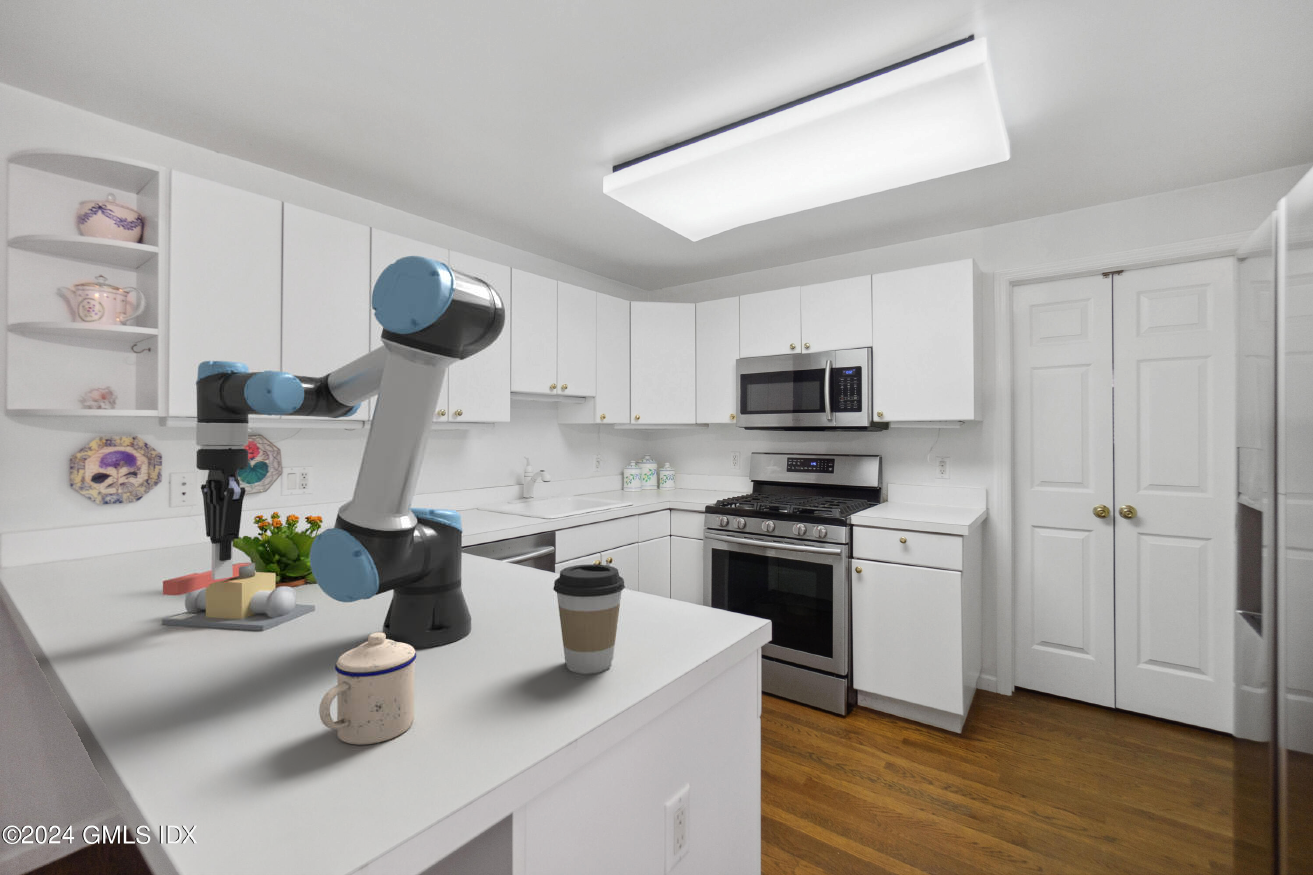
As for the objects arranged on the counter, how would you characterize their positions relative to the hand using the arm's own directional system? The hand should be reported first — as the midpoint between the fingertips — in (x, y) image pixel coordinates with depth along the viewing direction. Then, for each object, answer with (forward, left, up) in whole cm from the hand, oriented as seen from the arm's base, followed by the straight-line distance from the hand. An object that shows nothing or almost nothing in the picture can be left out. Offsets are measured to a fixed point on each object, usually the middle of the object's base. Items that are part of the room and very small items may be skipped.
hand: (222, 577), depth 105 cm
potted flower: (+18, -33, -11) cm, 39 cm away
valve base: (+6, -10, -11) cm, 16 cm away
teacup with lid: (-48, +27, -11) cm, 56 cm away
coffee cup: (-69, +2, -11) cm, 70 cm away
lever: (+6, -4, -3) cm, 7 cm away
